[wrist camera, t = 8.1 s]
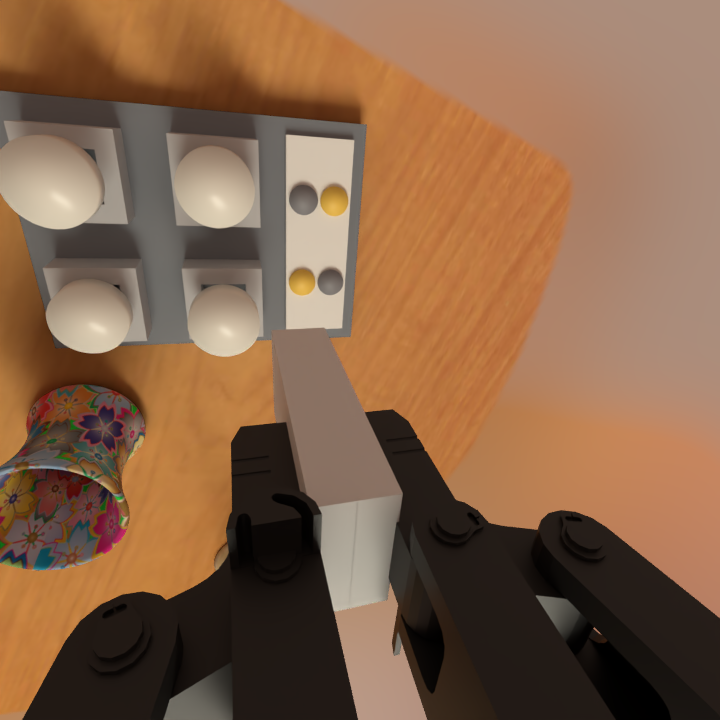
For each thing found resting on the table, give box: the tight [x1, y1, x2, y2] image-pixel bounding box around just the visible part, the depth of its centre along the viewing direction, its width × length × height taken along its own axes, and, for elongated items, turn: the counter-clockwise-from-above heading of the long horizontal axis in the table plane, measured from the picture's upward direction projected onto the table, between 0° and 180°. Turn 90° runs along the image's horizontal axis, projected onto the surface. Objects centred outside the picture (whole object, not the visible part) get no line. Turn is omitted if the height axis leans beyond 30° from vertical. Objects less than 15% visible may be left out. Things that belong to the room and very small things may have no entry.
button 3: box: [187, 284, 260, 356], centre depth 29 cm, size 4×4×4 cm
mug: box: [0, 385, 145, 571], centre depth 33 cm, size 12×9×11 cm
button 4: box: [174, 145, 255, 228], centre depth 27 cm, size 4×4×4 cm
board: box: [0, 91, 367, 348], centre depth 30 cm, size 22×16×4 cm
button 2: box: [0, 134, 105, 229], centre depth 24 cm, size 4×4×4 cm
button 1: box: [46, 279, 133, 353], centre depth 28 cm, size 4×4×4 cm
